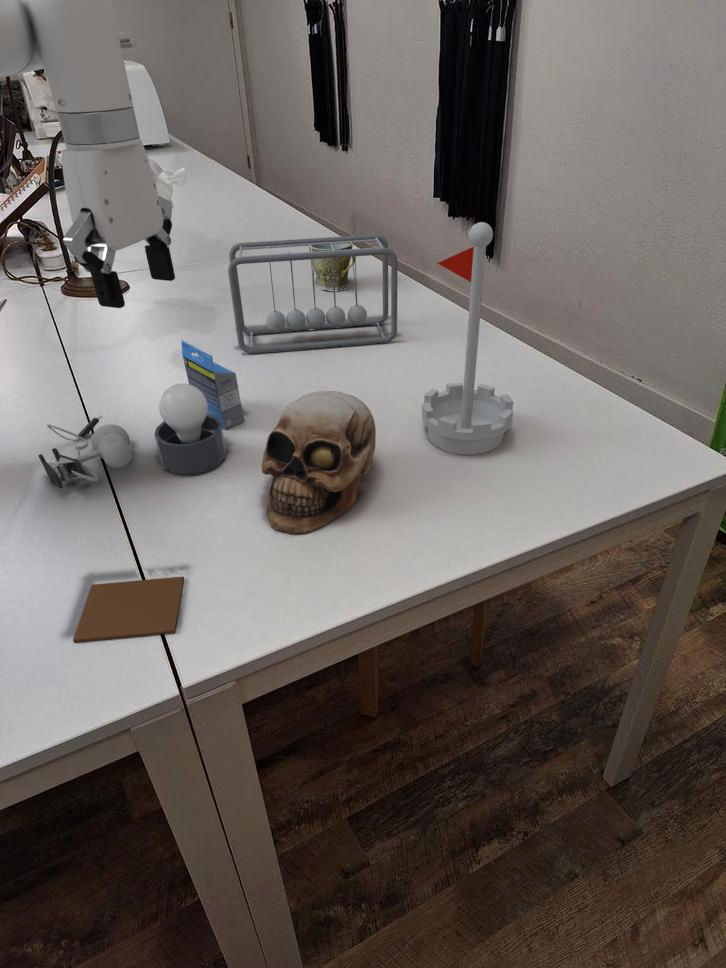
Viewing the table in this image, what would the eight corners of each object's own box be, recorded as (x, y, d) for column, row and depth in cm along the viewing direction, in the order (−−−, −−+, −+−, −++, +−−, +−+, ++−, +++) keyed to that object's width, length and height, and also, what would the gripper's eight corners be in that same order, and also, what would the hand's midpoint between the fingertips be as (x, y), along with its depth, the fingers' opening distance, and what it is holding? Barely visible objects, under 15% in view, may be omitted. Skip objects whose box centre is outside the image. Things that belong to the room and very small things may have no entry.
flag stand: (511, 417, 100) (536, 211, 83) (508, 462, 90) (537, 238, 73) (426, 410, 103) (434, 208, 86) (415, 454, 92) (421, 234, 75)
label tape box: (245, 421, 101) (234, 347, 94) (223, 431, 99) (211, 356, 92) (213, 403, 106) (201, 331, 99) (192, 412, 104) (177, 339, 97)
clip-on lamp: (48, 463, 98) (55, 502, 83) (29, 424, 95) (34, 458, 80) (125, 435, 102) (145, 468, 87) (109, 398, 99) (128, 425, 84)
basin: (157, 479, 89) (149, 448, 86) (166, 444, 96) (159, 415, 93) (224, 474, 89) (218, 443, 87) (228, 440, 97) (223, 410, 94)
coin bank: (271, 538, 78) (261, 435, 71) (257, 473, 92) (248, 383, 86) (397, 520, 81) (399, 420, 74) (365, 460, 95) (364, 372, 89)
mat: (73, 642, 65) (72, 640, 65) (92, 587, 72) (91, 584, 72) (175, 633, 66) (174, 630, 66) (184, 578, 73) (183, 576, 72)
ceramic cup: (302, 287, 153) (299, 243, 147) (335, 277, 158) (333, 235, 153) (338, 300, 145) (336, 255, 139) (371, 290, 150) (370, 245, 145)
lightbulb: (225, 454, 93) (213, 384, 86) (187, 473, 89) (172, 402, 82) (199, 439, 96) (186, 371, 90) (162, 457, 92) (145, 387, 86)
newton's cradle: (387, 323, 133) (387, 232, 123) (397, 342, 125) (398, 247, 115) (240, 334, 130) (227, 243, 120) (239, 355, 122) (226, 259, 112)
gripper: (124, 119, 75) (156, 268, 85) (8, 141, 62) (63, 315, 72) (178, 119, 73) (205, 272, 83) (70, 143, 60) (118, 321, 70)
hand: (139, 292), depth 77 cm, fingers open, 9 cm apart
